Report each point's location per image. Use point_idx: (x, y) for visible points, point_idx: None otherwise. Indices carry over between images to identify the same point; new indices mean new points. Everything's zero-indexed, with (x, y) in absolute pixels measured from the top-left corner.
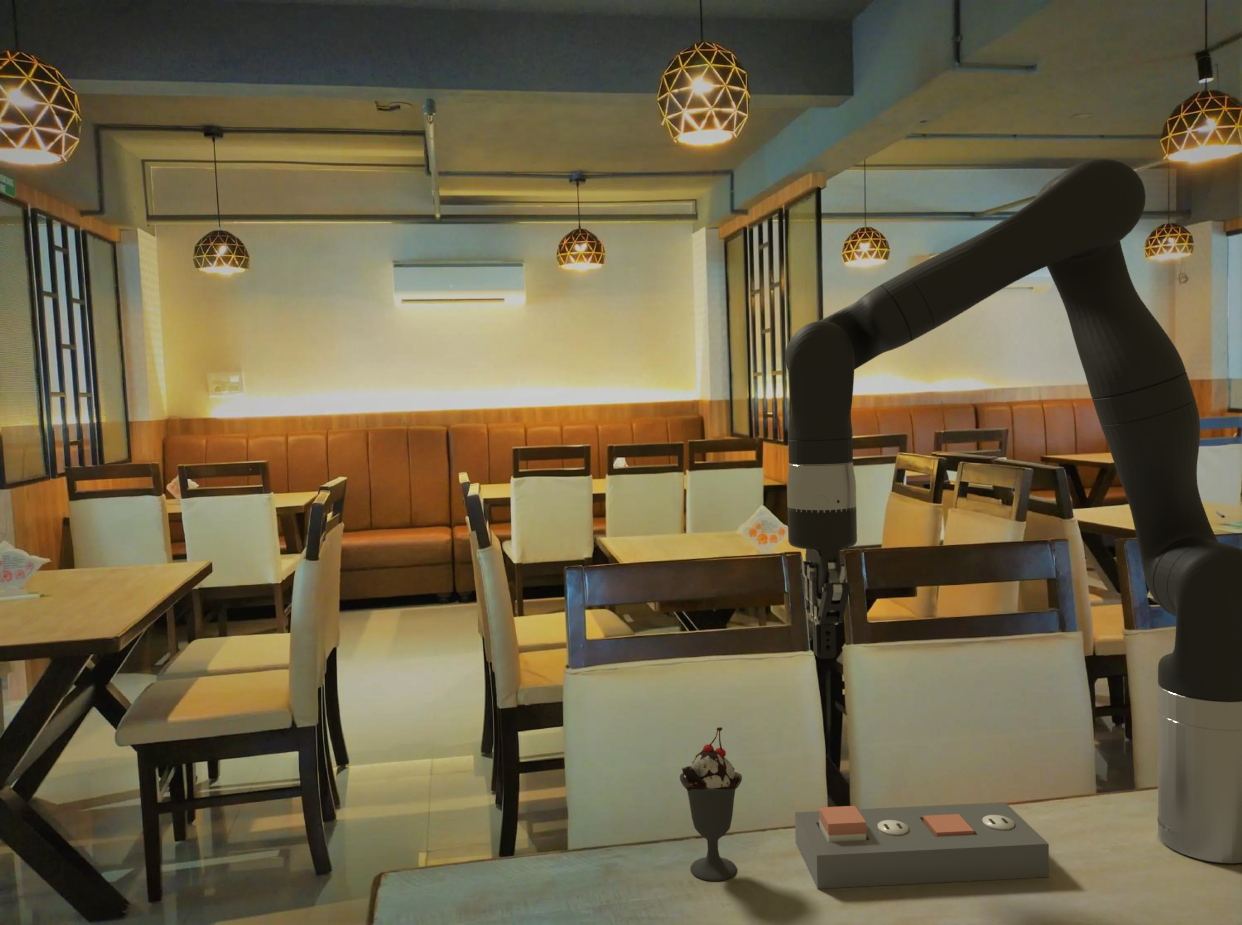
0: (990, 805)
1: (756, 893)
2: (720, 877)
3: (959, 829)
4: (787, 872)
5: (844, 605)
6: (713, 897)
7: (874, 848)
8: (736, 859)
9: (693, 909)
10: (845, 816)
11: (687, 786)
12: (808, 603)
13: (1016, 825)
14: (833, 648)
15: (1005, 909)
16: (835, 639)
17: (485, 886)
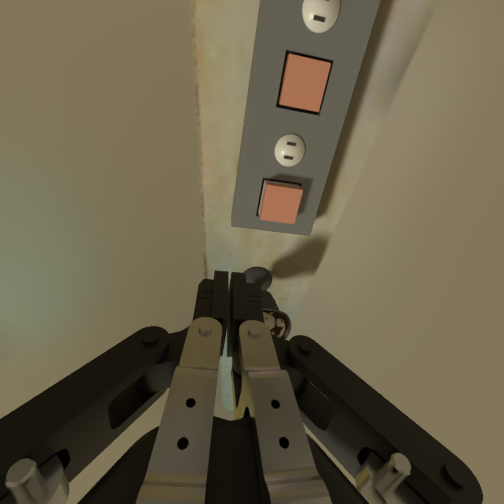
0: None
1: (293, 263)
2: (270, 280)
3: (322, 80)
4: (274, 236)
5: (381, 399)
6: (288, 287)
7: (317, 186)
8: (245, 263)
9: (297, 299)
10: (286, 203)
11: None
12: (156, 398)
13: None
14: (259, 293)
15: (388, 90)
16: (247, 295)
17: None
